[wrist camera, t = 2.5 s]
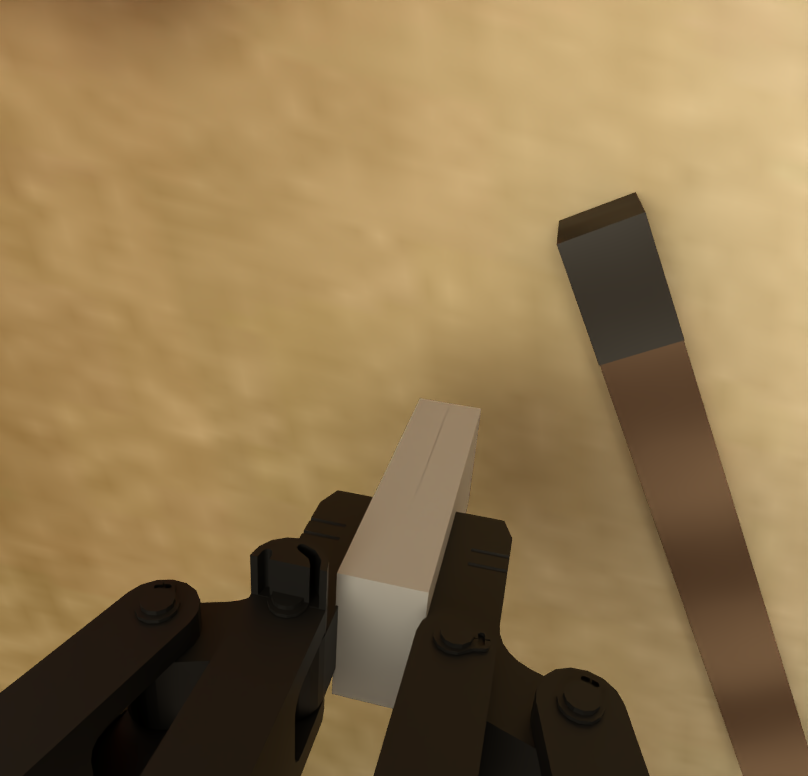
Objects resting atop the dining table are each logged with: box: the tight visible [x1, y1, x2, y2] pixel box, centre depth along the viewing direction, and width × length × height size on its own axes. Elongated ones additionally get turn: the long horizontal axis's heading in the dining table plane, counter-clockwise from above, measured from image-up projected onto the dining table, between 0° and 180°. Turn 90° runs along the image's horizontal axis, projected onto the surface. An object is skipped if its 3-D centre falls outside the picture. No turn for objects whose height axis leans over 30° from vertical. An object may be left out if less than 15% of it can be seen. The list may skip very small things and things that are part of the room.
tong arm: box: [557, 192, 808, 776], centre depth 25 cm, size 24×2×4 cm, turn 24°
